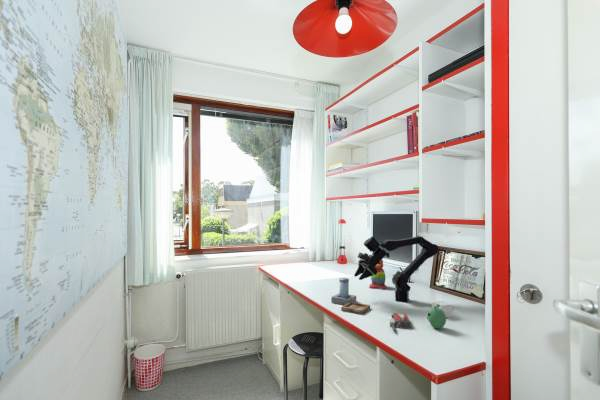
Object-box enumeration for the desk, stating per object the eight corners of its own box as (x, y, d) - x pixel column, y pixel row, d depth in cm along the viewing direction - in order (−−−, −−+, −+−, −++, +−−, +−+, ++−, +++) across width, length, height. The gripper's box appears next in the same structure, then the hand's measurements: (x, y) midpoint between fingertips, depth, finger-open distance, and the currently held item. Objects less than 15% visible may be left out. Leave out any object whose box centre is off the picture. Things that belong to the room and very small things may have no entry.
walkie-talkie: (387, 318, 152) (392, 334, 132) (387, 308, 152) (391, 323, 132) (406, 319, 151) (414, 335, 131) (406, 309, 151) (414, 324, 131)
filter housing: (356, 301, 178) (356, 295, 178) (348, 305, 170) (348, 299, 170) (339, 298, 184) (339, 292, 184) (331, 302, 175) (331, 297, 176)
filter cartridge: (350, 301, 178) (350, 278, 178) (346, 303, 173) (346, 280, 174) (341, 299, 180) (341, 277, 181) (337, 302, 176) (337, 279, 176)
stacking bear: (369, 288, 207) (369, 260, 208) (370, 284, 217) (370, 258, 217) (386, 289, 204) (386, 261, 205) (386, 285, 214) (386, 259, 214)
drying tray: (370, 308, 165) (370, 305, 165) (361, 314, 156) (361, 310, 156) (350, 305, 171) (350, 301, 171) (341, 310, 162) (341, 306, 162)
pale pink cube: (451, 317, 153) (451, 304, 153) (441, 318, 151) (440, 305, 151) (442, 313, 159) (442, 300, 159) (432, 314, 157) (432, 301, 157)
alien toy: (429, 323, 144) (429, 301, 144) (448, 327, 139) (447, 304, 139) (424, 328, 138) (424, 304, 138) (443, 332, 133) (443, 308, 134)
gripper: (361, 245, 188) (343, 264, 187) (371, 249, 170) (351, 270, 168) (374, 258, 189) (356, 278, 187) (386, 264, 170) (365, 285, 169)
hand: (357, 277), depth 178 cm, fingers open, 9 cm apart
